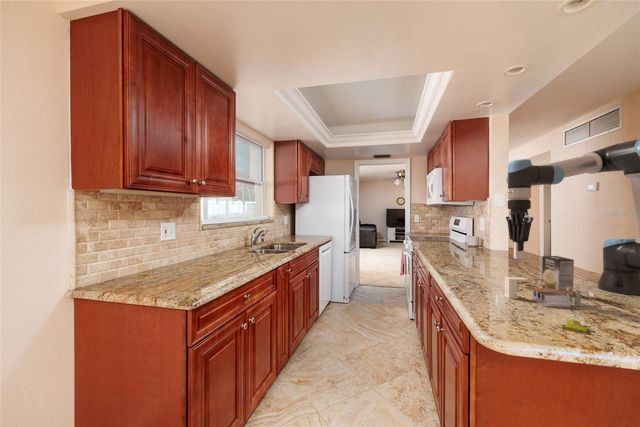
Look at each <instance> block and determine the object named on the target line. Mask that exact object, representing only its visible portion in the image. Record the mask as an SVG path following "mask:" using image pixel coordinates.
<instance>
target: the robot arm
mask: <svg viewBox="0 0 640 427" xmlns="http://www.w3.org/2000/svg"><path fill="white" fill-rule="evenodd" d="M507 165H508V166H507V176H506V184H507V199H508V201H507V209H508V210H510V212H509V215H508V216H506V217H505V219H506V221H507V229H508V235H509V240H511V241H512V242H513V259H514V260H515V259H516V260H524V248H525V247H524V246H525V243H526V242H529V238H530V231H531V226H532V223H533V221H534V217H532V216H529V211H528V210H530V209H531V208H532V201H531V198H532V187H534V186H545V185H548V186H552V185H557V184H560V183H561V182H562V181H563V180H564V179H565V178H569V177H570V178H571V177H573V176H578V175H579V176H580V175H583V174H590V175H595V174H598V173H607V172H622V171H623V176H624V177H626V178H629V180H630V185H631V191H632V192H631V193H632V199H633V203H634V209H635V210H634V212H635V214H636V215H635V216H636V222H637V229H638V235H639V236H638V237H637V238H611V239H610V238H609V239H608V238H607V239H606V240H604V242H603V247H602V262H603V265H602V267H603V268H602V269H603V270H602V272H601V276H600V277H599V280H598V281H597V288H598V289H599V290H604V291H606V292H610V293H611V292H612V293H615V294H616V293H617V294H623V295H629V296H630V295H631V296H633V295H634V296H640V138H638V139H633V140H630V141H625V142H620V143H615V144H611V145H608V146H606V147H603V148H600V149H596V150H594V151H590V152H586V153H584V154H583V155H582V156H581V155H580V156H578V157H573V158H568V159H564V160H560V161H554V162H551V163H546V164H542V165H541V164H540V165H532V160H530V159H526V158H525V159H523V158H522V159H515V160H511V161H510V162H509V163H508V164H507Z"/></svg>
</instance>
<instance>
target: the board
mask: <svg viewBox="0 0 640 427" xmlns="http://www.w3.org/2000/svg"><path fill="white" fill-rule="evenodd" d="M567 290H572V288H571V287H567ZM574 291H575V294H574V299H573V296H572V294H569V293H567V296H570V302H571V304H572V303H574V306H576V307H581V306H583V307H585V308H587V309H591V310H593V311H596V312H597V313H600V314H603V315H604V314H606V315H607V314H608V315H609V314H610V313H609V312H608V311H607V312H606V311H604V310H602V309H600V308H597V307H594V306H591V305H589V304H586V303H584V302H582V301H581V290H580V289H579V290H578V289H577V290H576V289H575V290H574Z"/></svg>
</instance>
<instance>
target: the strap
mask: <svg viewBox="0 0 640 427" xmlns="http://www.w3.org/2000/svg"><path fill="white" fill-rule="evenodd" d="M524 289H526V290H529V291H531V292H532V291H545V292H557V293H569V294H573V295H575V290H574V289H573V290H558V289H546V288H542V287H534V286H533V287H532V286H524Z"/></svg>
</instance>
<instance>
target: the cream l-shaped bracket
mask: <svg viewBox="0 0 640 427" xmlns="http://www.w3.org/2000/svg"><path fill="white" fill-rule="evenodd" d="M518 282H529V279H528V278H526V277H513V276H511V277H510V276H507V277H506V276H505V277H504V297H505V298H507V299H511V300H517V299H518Z"/></svg>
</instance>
